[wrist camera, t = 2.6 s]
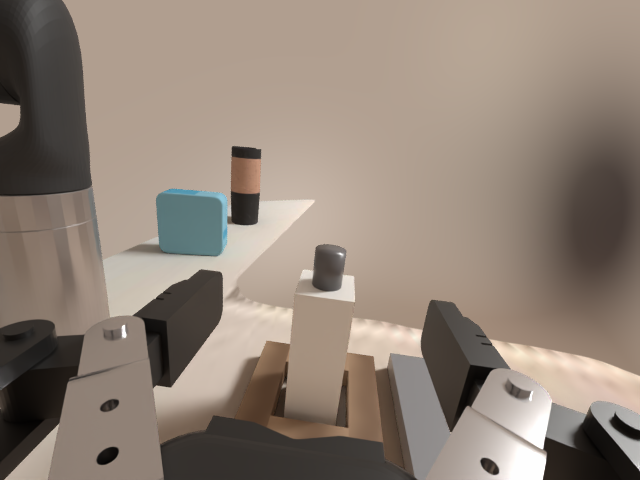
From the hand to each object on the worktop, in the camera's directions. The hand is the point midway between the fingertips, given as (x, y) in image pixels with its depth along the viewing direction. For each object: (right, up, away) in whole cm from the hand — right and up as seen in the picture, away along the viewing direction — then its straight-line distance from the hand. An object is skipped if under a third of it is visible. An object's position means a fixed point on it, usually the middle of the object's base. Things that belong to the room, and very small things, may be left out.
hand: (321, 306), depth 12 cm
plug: (-1, -13, +17) cm, 21 cm away
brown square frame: (-1, -13, +17) cm, 21 cm away
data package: (-26, 0, +50) cm, 56 cm away
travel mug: (-21, +8, +73) cm, 77 cm away
